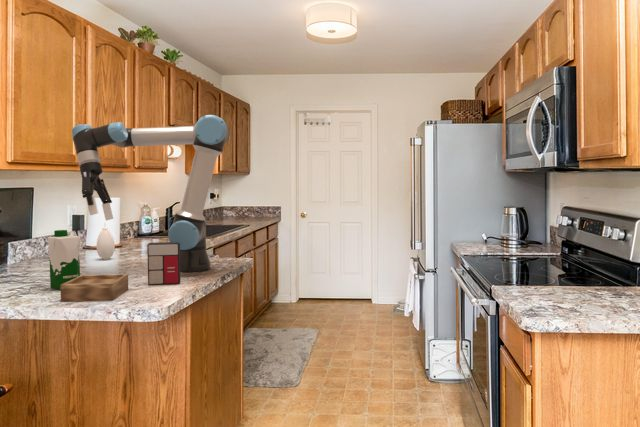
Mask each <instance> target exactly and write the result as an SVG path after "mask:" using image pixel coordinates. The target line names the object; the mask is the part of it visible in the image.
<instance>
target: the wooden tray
mask: <svg viewBox="0 0 640 427" xmlns="http://www.w3.org/2000/svg"><path fill="white" fill-rule="evenodd" d="M60 289H61V290H60V302H97V301H98V302H99V301H101V302H102V301H103V302H104V301H105V302H106V301H114V300H116V299H117V298H119V297H120V296H122V295H123V294H124V293H125V292H127V291H128V290H129V274H87V275H85V274H83V275H82V274H80V276H78V277H76V278H74V279H72V280H70V281H68V282H66V283H63V284H61V285H60Z"/></svg>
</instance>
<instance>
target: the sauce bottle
mask: <svg viewBox="0 0 640 427" xmlns="http://www.w3.org/2000/svg"><path fill="white" fill-rule="evenodd" d="M106 225H107V224H106V223H104V227H102V228H101V231H100V233H99V234H98V236H97V239H96V240H97V241H96V252H97V254H98V256H99V258H101V259H102V260H105V261H107V260H109V259H111V258H112V257H113V255H114V252H115V250H116V249H115V248H116V246H115V239H114V237H113V235H112V233H111V231H110V230H109V228H108V227H106Z"/></svg>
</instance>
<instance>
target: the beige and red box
mask: <svg viewBox="0 0 640 427" xmlns="http://www.w3.org/2000/svg"><path fill="white" fill-rule="evenodd" d="M146 247H147V252H146V253H147V285H148V286H154V285H155V286H159V285H160V286H161V285H162V286H163V285H179V284H180V283H181V271H180V242H170V241H165V242H163V241H162V242H161V241H159V242H158V241H157V242H149V243H147V244H146Z"/></svg>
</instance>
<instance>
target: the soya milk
mask: <svg viewBox="0 0 640 427" xmlns="http://www.w3.org/2000/svg"><path fill="white" fill-rule="evenodd" d="M53 235H54V236H53ZM53 235H52V236H47V243H48V244H47V245H48V250H49V253H48V254H49V256H48V257H49V283H50V289H53V290H58V291H61V289H60V285H61V284H63V283H66V282H68V281H70V280H72V279H74V278H76V277H78V276H81V270H80V269H81V265H80V263H81V262H80V245H81V238H82V236H78V235H71V234H70V235H69V234H68V230H67V229H58V230H54V234H53Z"/></svg>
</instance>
